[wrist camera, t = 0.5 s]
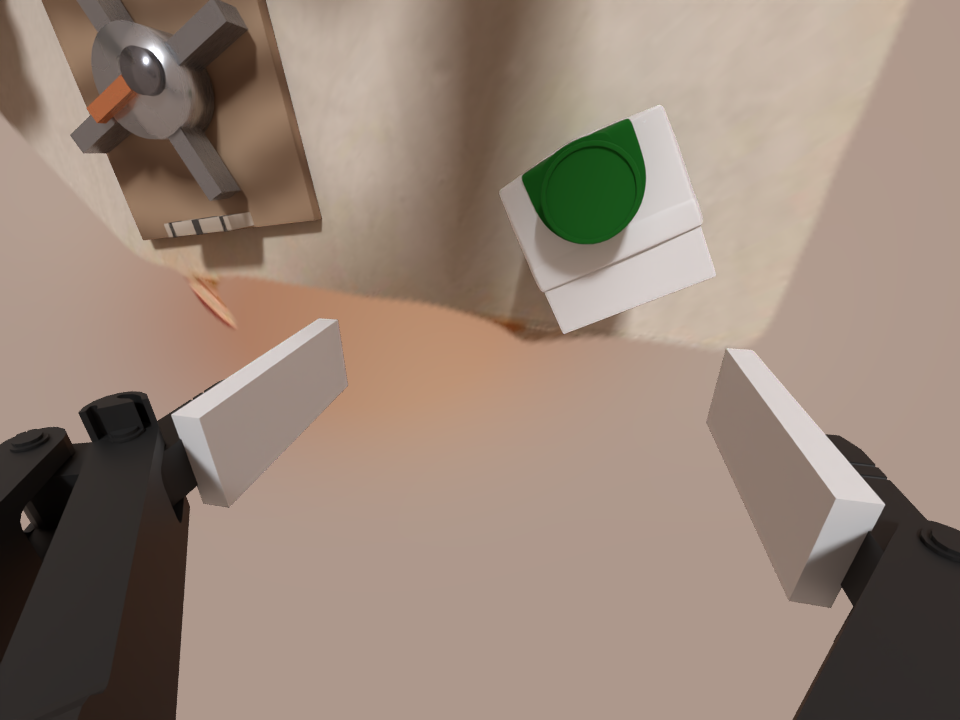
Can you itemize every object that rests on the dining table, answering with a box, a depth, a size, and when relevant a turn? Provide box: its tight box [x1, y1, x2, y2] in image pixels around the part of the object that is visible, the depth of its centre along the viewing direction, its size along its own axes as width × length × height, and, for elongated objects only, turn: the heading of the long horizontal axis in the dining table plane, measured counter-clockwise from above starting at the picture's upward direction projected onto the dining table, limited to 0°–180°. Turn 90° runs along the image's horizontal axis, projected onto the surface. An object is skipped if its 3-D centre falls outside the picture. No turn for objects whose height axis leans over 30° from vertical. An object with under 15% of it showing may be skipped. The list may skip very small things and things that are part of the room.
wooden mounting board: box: [42, 0, 322, 240], centre depth 37 cm, size 24×20×4 cm
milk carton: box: [499, 105, 716, 334], centre depth 27 cm, size 9×9×20 cm
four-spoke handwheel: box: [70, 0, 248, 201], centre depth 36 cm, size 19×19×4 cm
